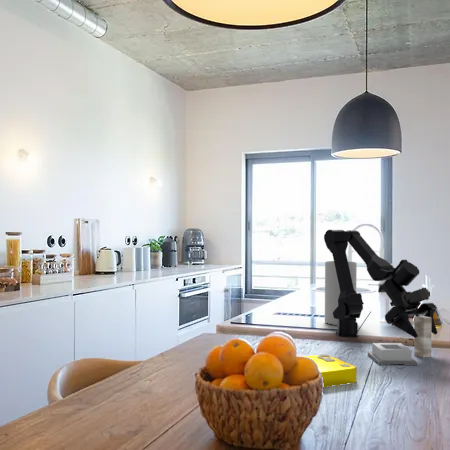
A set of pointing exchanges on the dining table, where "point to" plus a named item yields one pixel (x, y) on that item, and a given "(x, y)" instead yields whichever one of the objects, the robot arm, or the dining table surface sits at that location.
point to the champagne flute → (386, 300)
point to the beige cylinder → (423, 336)
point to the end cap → (391, 354)
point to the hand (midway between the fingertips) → (426, 335)
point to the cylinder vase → (334, 289)
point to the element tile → (334, 370)
